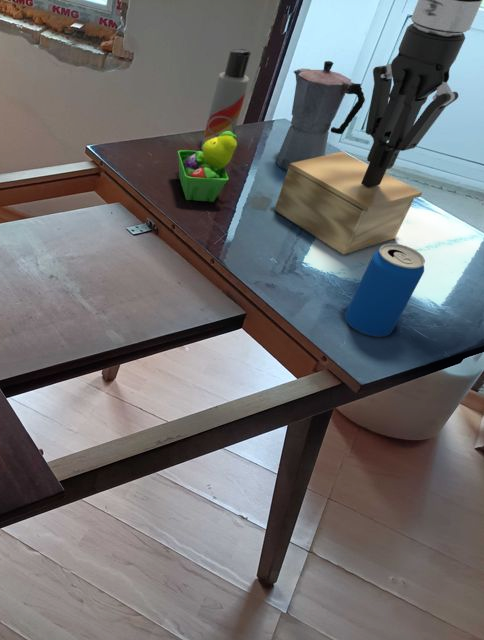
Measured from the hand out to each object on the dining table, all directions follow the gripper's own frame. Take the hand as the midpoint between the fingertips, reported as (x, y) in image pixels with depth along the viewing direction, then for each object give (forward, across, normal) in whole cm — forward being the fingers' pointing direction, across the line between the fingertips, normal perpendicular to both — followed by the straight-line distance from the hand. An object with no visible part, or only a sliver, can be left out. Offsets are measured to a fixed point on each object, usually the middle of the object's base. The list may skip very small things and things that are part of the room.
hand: (370, 183), depth 110 cm
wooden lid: (+1, -3, 0) cm, 3 cm away
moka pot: (+10, -24, +13) cm, 29 cm away
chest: (+10, -4, 0) cm, 11 cm away
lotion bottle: (+10, -36, +1) cm, 37 cm away
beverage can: (+10, +18, -17) cm, 27 cm away
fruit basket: (+10, -24, -13) cm, 29 cm away
